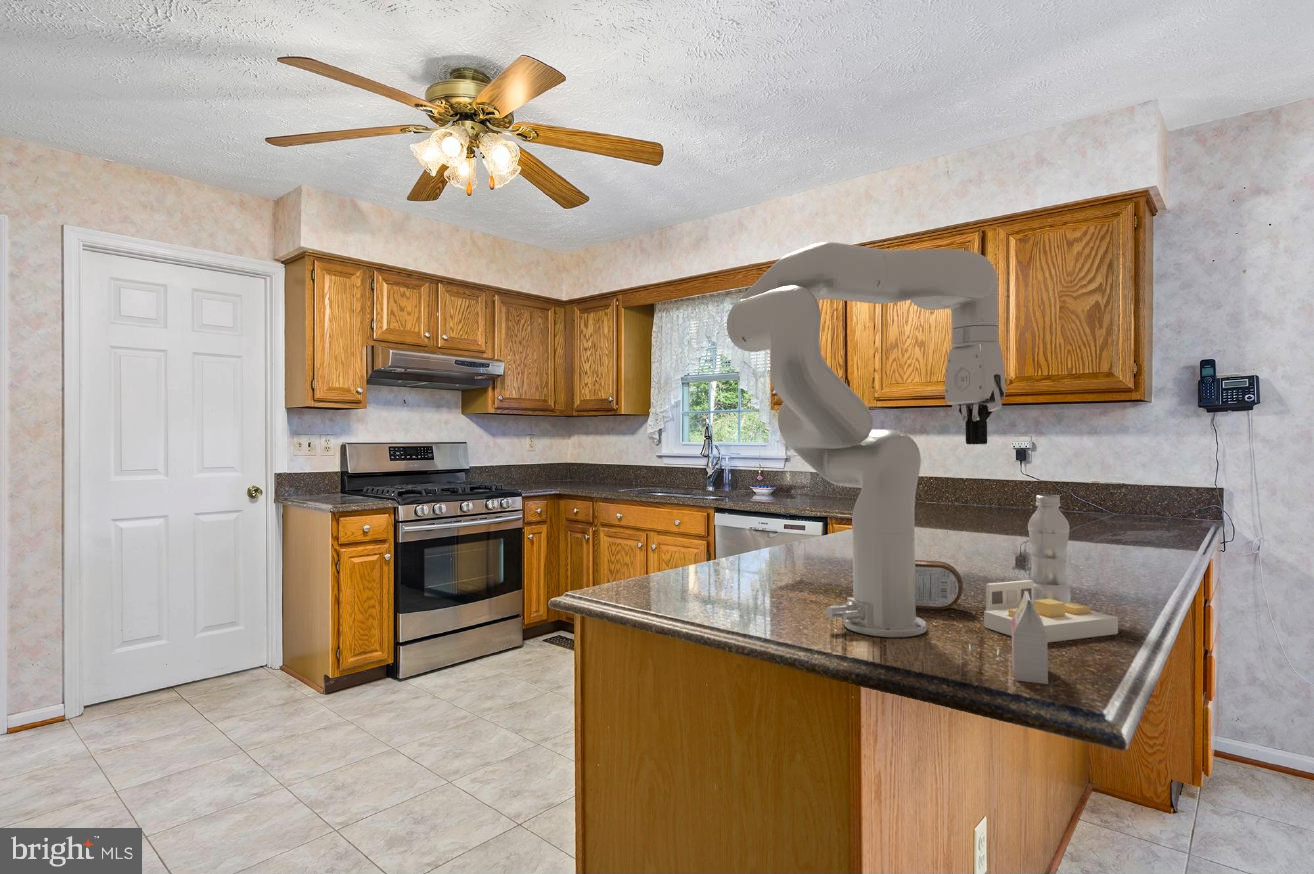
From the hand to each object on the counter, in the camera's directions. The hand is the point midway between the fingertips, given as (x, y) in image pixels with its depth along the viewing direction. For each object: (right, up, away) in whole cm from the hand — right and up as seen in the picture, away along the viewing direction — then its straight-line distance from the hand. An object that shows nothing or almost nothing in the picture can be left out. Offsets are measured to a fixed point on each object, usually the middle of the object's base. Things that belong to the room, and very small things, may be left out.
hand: (976, 444), depth 124 cm
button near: (+1, -29, -15) cm, 32 cm away
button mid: (+5, -28, -13) cm, 31 cm away
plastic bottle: (+12, -29, -1) cm, 32 cm away
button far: (+10, -29, -12) cm, 33 cm away
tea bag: (-8, -29, -33) cm, 45 cm away
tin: (-9, -30, +3) cm, 31 cm away
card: (+3, -29, -6) cm, 30 cm away
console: (+5, -29, -13) cm, 32 cm away
